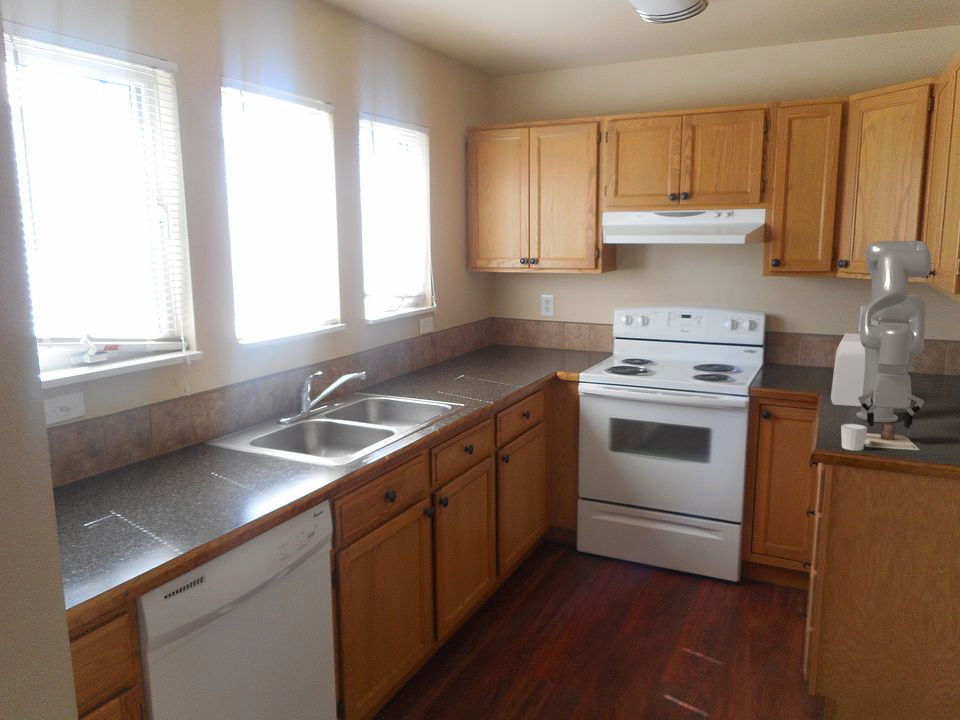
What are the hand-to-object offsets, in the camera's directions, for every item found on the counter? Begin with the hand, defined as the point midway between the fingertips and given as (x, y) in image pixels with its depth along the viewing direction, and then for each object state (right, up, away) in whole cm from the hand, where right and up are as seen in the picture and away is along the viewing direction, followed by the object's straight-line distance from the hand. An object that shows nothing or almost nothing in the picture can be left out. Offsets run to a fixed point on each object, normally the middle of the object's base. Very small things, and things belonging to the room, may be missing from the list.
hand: (888, 426), depth 214 cm
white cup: (-13, -7, -4) cm, 15 cm away
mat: (0, -5, +1) cm, 6 cm away
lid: (0, -5, +1) cm, 5 cm away
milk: (+17, +4, +56) cm, 59 cm away
